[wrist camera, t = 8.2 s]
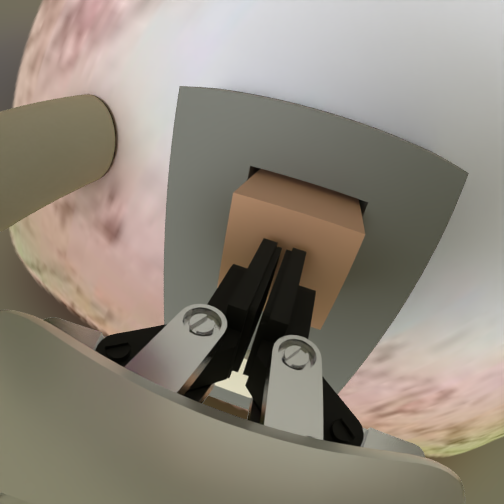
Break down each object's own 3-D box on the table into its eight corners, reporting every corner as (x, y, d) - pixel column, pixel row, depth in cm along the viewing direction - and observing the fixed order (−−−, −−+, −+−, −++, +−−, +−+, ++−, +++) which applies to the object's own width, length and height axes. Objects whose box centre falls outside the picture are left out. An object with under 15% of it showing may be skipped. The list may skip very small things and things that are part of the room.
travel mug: (77, 80, 17) (-114, 138, 2) (132, 121, 18) (-105, 222, 3) (53, 152, 22) (-97, 233, 7) (100, 197, 23) (-65, 315, 8)
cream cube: (299, 324, 22) (287, 372, 18) (282, 359, 25) (269, 403, 21) (240, 304, 23) (217, 348, 19) (231, 342, 25) (211, 383, 21)
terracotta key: (357, 193, 14) (365, 234, 10) (327, 270, 16) (320, 329, 12) (265, 164, 14) (233, 192, 10) (247, 244, 17) (216, 294, 13)
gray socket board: (435, 153, 14) (468, 173, 10) (315, 386, 27) (307, 426, 22) (219, 88, 16) (179, 86, 12) (188, 342, 29) (167, 377, 24)
